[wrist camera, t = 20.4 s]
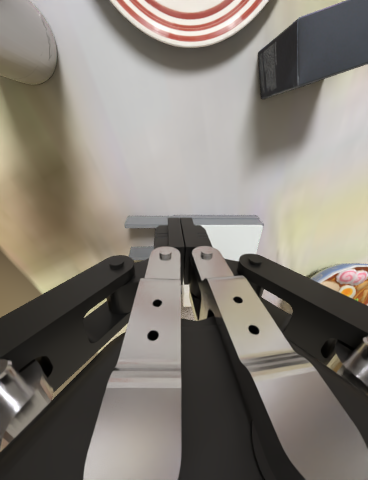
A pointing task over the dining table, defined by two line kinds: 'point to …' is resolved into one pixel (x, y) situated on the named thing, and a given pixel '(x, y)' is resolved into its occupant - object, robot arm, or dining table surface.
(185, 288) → the white jaw block
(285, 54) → the small box
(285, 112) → the dining table surface
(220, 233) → the lid
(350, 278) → the ramen bowl
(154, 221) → the housing
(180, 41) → the dinner plate
